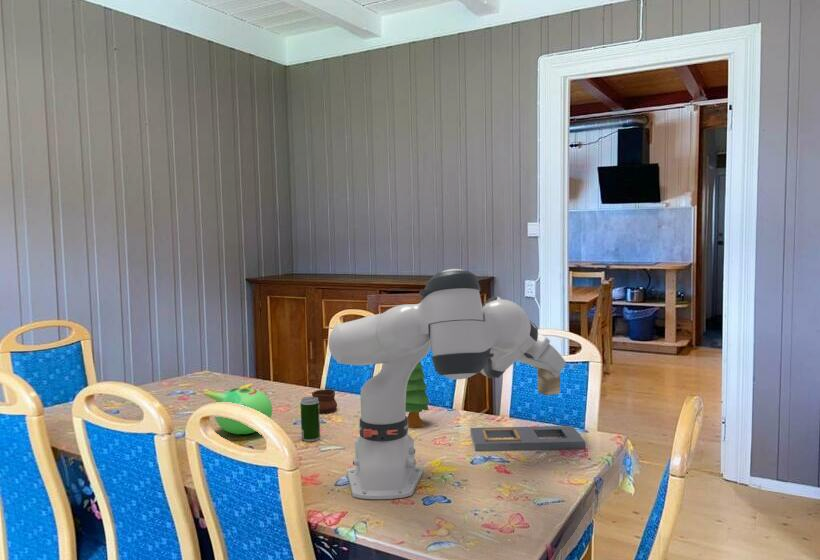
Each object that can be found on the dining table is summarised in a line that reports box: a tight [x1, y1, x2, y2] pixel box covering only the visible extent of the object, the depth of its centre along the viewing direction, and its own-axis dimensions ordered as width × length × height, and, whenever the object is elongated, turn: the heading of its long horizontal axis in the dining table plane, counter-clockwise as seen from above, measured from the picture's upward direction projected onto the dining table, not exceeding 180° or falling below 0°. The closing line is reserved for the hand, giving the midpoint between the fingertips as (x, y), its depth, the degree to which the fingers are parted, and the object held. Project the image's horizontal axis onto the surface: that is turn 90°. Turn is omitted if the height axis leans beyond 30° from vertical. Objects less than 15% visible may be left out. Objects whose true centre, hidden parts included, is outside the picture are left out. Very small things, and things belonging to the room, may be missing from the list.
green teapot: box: [203, 383, 273, 435], centre depth 191 cm, size 18×17×15 cm
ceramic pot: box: [311, 388, 338, 415], centre depth 214 cm, size 18×18×7 cm
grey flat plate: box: [470, 425, 586, 452], centre depth 178 cm, size 14×30×2 cm, turn 90°
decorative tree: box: [406, 361, 430, 428], centre depth 195 cm, size 10×9×30 cm
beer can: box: [300, 396, 321, 443], centre depth 184 cm, size 5×5×12 cm
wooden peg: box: [537, 368, 561, 396], centre depth 177 cm, size 4×4×10 cm
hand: (550, 373), depth 177 cm, fingers closed on wooden peg, 4 cm apart
